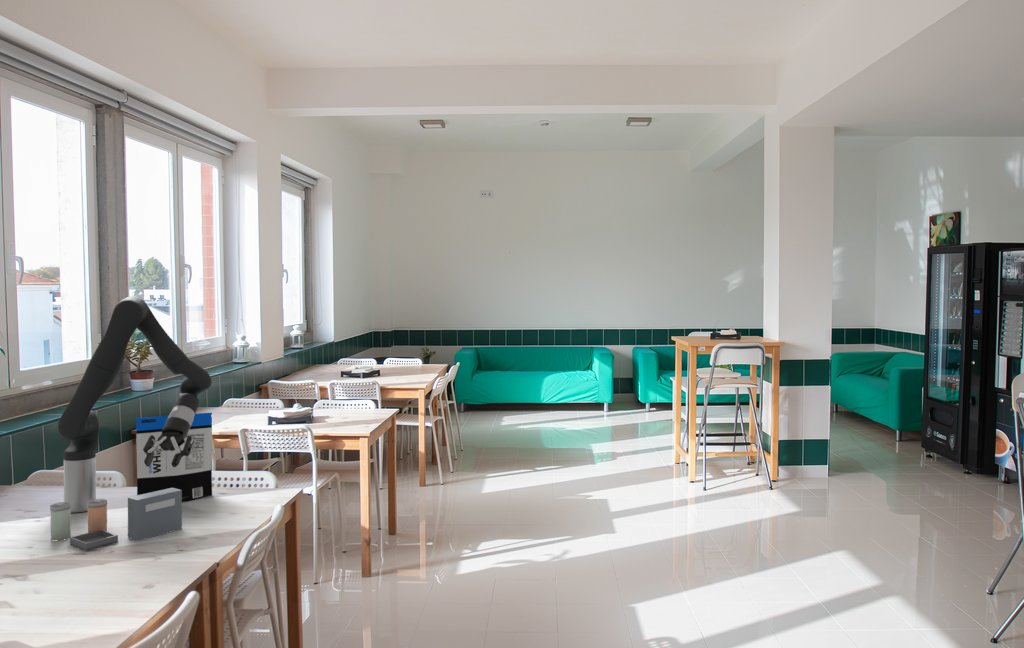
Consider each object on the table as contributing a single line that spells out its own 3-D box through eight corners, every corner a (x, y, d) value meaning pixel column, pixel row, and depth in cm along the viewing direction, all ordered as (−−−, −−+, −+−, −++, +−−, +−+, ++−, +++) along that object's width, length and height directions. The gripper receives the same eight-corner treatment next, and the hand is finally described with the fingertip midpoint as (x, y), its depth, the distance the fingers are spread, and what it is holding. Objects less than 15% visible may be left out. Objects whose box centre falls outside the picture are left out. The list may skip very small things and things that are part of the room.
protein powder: (214, 498, 260) (214, 414, 259) (138, 508, 247) (138, 419, 246) (209, 492, 268) (209, 410, 267) (135, 501, 255) (134, 416, 254)
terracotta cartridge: (84, 534, 219) (83, 501, 218) (101, 530, 223) (101, 497, 223) (93, 538, 216) (92, 504, 216) (110, 533, 220) (110, 500, 220)
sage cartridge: (47, 538, 215) (46, 505, 215) (65, 534, 219) (65, 501, 219) (55, 542, 212) (55, 508, 212) (74, 537, 216) (74, 504, 216)
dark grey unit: (127, 537, 217) (127, 497, 216) (171, 525, 228) (171, 487, 228) (138, 541, 214) (137, 500, 213) (182, 528, 225) (182, 490, 225)
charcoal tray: (69, 545, 210) (69, 537, 210) (101, 536, 217) (101, 529, 217) (85, 551, 205) (85, 543, 205) (118, 542, 212) (118, 535, 212)
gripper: (153, 415, 237) (133, 458, 226) (196, 416, 236) (177, 459, 225) (162, 429, 243) (143, 471, 232) (204, 430, 242) (186, 472, 231)
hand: (160, 465), depth 228 cm, fingers open, 8 cm apart
